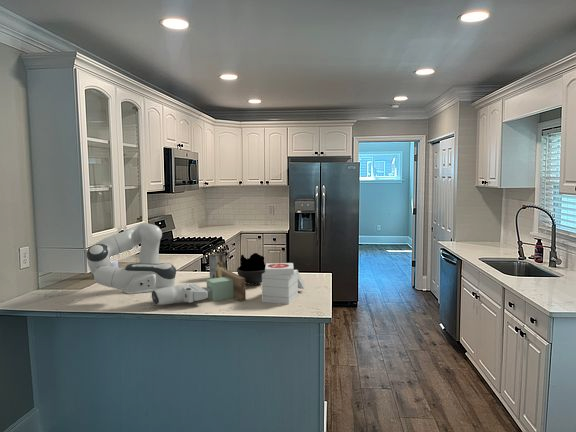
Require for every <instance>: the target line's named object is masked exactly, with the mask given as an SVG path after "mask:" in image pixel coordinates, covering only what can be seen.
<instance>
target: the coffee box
mask: <svg viewBox="0 0 576 432" xmlns="http://www.w3.org/2000/svg"><path fill="white" fill-rule="evenodd" d="M226 259H227V258H226V253H222V252H218V253H214V254H209V255H208V263H209V264H208V265H209V266H208V267H209V279H214V278H221V277H222V273H221V270H227V264H226V262H227V260H226Z"/></svg>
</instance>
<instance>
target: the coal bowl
mask: <svg viewBox="0 0 576 432" xmlns="http://www.w3.org/2000/svg"><path fill="white" fill-rule="evenodd" d="M239 260H240V266H238V267H237V269H236V273H237V275H239V276H241V277H243V278H245V284H247V285H252V286H255V285H256V286H257V285H259V284H262V274H263V273H265V267H266V263H265V257H264V255H261V254H259V253H257V252H254V253H252V254H250V256H249V258H246V257H245V255H244V254H241V255H240V259H239Z"/></svg>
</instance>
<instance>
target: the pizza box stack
mask: <svg viewBox="0 0 576 432" xmlns="http://www.w3.org/2000/svg"><path fill="white" fill-rule="evenodd" d="M265 265H266V267H265V273H263V274H262V282H261V299H262V301H261V302H264V303H273V304H283V305H284V304H286V305H290V304H291V303H292V302H294V300H295V299H297V298H298V297H299V289H302V290H304V289H305V286H306V283H305V280H303V277H302V276H301V274H300V272H299V270H298V269H294V262H275V263H270V262H269V263H268V262H267V263H265Z"/></svg>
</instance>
